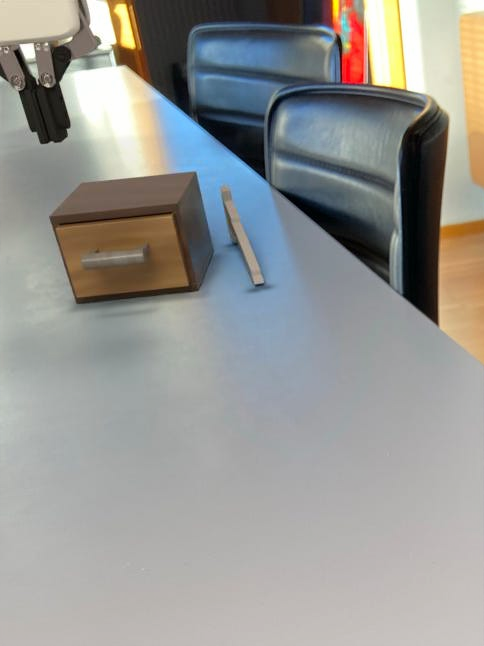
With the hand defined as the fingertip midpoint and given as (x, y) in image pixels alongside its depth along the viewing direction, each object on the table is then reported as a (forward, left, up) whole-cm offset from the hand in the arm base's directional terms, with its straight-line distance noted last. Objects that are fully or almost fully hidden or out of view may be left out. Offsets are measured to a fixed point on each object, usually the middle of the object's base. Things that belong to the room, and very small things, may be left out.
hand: (54, 139), depth 85 cm
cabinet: (0, +20, -17) cm, 26 cm away
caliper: (+10, +22, -17) cm, 30 cm away
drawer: (0, +16, -16) cm, 23 cm away
